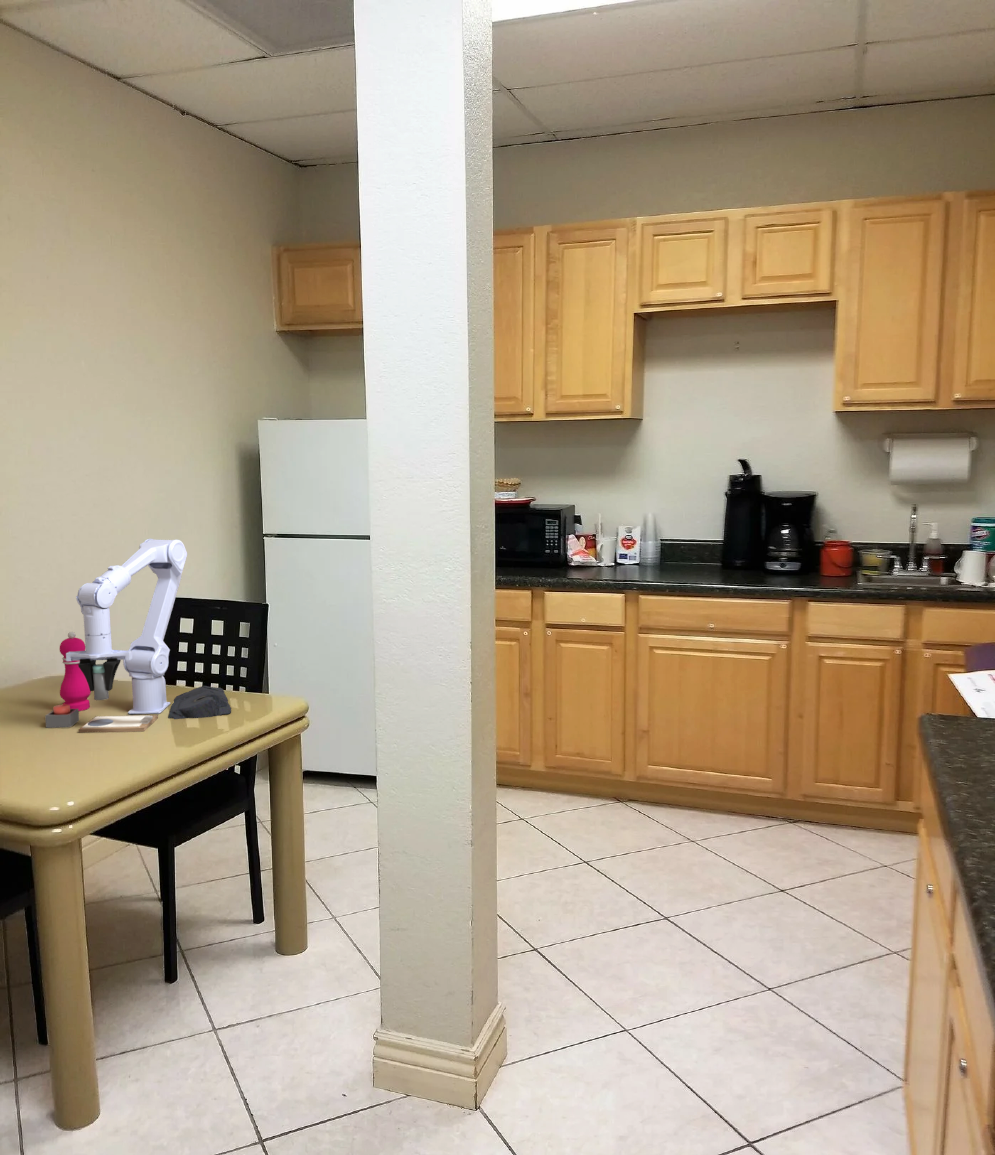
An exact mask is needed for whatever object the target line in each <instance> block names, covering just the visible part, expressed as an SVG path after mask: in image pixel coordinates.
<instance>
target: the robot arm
mask: <svg viewBox="0 0 995 1155" xmlns="http://www.w3.org/2000/svg"><path fill="white" fill-rule="evenodd" d="M187 556H188V552H187V549H186V547H185V544H184V543H183V541H182V540H180V539H155V538H147V539H145V540H144V541H143V542H141V543H140V544H139V547H138V550H137V551H135V552H134V553H133V554H132V555H131V556H130V557H129V558H128V559H127V560H126V561H125V562H124V563H122V564H121V565H118V564H116V565H109V566H108V567H107V570H106V571H105V572H104V573H102V574H101V575H100V576H96V577H95V578H94V580H93V581H92V582H86V583H84V584H83V585H82V586H80V587H79V588H78V592H77V595H76V596H75V599H76V602H77V604H78V605H79V607H80V612H81V614H82V615H83V628H84V629H83V630H84V643H85V651H76V652H68V653H66V661H79V660H80V663H79V664H78V666H79V668H80V669H81V671H82V672H83V674H84V676H85V678H86V680H87V682H88V685H89V688H90V691H91V692H94V683H93V668H92V666H93V665H96V664H97V661H104V662H102V664H103V666H104V670H105V675H106V690H107V691H109V692H110V691H112V690H113V685H114V682H115V676H116V673H117V670H118V668H119V665H120V663H121V662H122V663H123V664H122V665H123V669H124V670H125V671H126V672H127V673H128V676H129V677H130V678H131V687H132V688H131V690H132V691H131V692H132V708H131V709H130V710H129V711H127V714H128V715H147V714H148V715H156V714H162V712H163V711H164V710H165V709H166V708H167V707H169V706H170V704H171V702H170V701H167V688H166V687H167V686H166V685H167V684H166V679H165V677H164V676H165V673H166V672H167V670H168V667H169V656H170V651H171V649H170V648H169V647H168V645H167V644H166V643H165V641H164V639H165V635H166V632H167V629H168V625H169V621H170V619H171V614H172V611H173V608H174V604H175V600H176V597H177V594H178V590H179V586H180V583H181V580H182V574H183V571H184V569H185V568H184V567H185V564H186V560H187ZM147 566H148V568H149V569H150V570H151V572H152V573H154V574H155V575H156V577H157V581H156V585H155V587H154V591H153V595H152V599H151V601H150V604H149V608H148V611H147V615H146V617H145V618H146V619H145V621H144V624H143V629H142V632H141V635H140V636H139V637H137V638H136V639H134V640H133V641H132V642H131V643H130V646H129V648H128V649H127V650H123V649H122V650H121V649H113V646H112V645H113V644H112V643H113V642H112V628H111V627H112V626H111V613H110V612H111V610H110V607H112V605H113V604H114V602H115V599H116V597H117V595H118V594H120V592H122V591H123V590H124V589H125V588H127V587H128V586H129V585H130V584H131V582H132V577H133V576H134V575H136V574H137V573H139V572H140V571H142V570H143V569H145V568H146V567H147Z"/></svg>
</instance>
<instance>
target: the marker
mask: <svg viewBox="0 0 995 1155" xmlns="http://www.w3.org/2000/svg"><path fill="white" fill-rule="evenodd" d="M92 668H93V683H94V691H93V696H94V697H93V699H94V701H104V700H108V699H109V698H110V693H109V692H110V691H107V690H106V675H105V670H104V666H103V663H96V665H93V666H92Z"/></svg>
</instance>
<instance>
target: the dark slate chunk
mask: <svg viewBox="0 0 995 1155" xmlns="http://www.w3.org/2000/svg"><path fill="white" fill-rule="evenodd" d="M173 701H174V703H173V704H172V703H171V705H170V709H169V713H168V716H167V718H168V719H173V720H184V719H185V720H186V719H204V718H205V719H206V718H213V717H218V716H225V715H231V713H232V707H231V705H230V703H229V699H228V697H227V695H226V693H225V690H224V689H223V687H222V688H221V687H214V686H207V685H201V686H199V687H196V688H194V689H191V690H189V691H186V692H183V693H181V694H179V695H176V697H174V698H173Z"/></svg>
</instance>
